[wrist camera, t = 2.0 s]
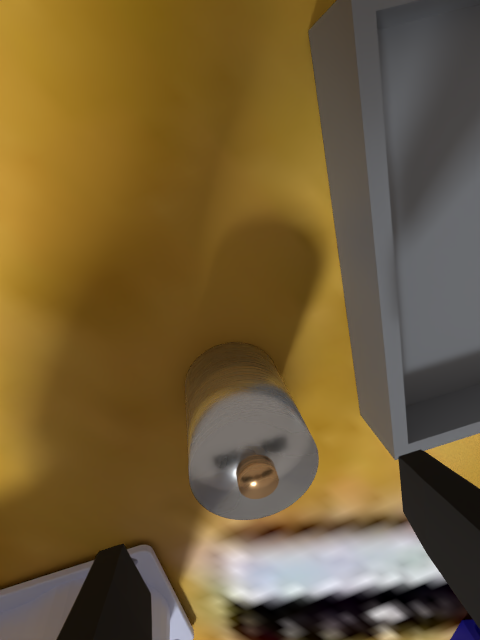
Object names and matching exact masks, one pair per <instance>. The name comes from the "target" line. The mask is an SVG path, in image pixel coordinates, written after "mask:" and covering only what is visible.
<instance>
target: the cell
mask: <svg viewBox="0 0 480 640" xmlns="http://www.w3.org/2000/svg"><path fill="white" fill-rule="evenodd" d="M185 398H186V421H187V443H188V466H189V481H190V487H191V490H192V492H193V494H194V496H195V498H196V499H197V500H198V502H199V503H200V504H201V505H202V506H203V507H204V508H206V509H207V510H209V511H210V512H212V513H214V514H216V515H219V516H221V517H225V518H229V519H236V520H250V519H258V518H263V517H266V516H270V515H272V514H275V513H277V512H279V511H281V510H284V509H285V508H287V507H288V506H290V505H291V504H293V503H294V502H295V501H297V500H298V499H299V498H300V497H301V496H302V495H303V494H304V493H305V492H306V491H307V489H308V488H309V486H310V485H311V483H312V481H313V479H314V478H315V475H316V472H317V468H318V458H319V457H318V450H317V447H316V444H315V442H314V440H313V438H312V436H311V434H310V432H309V430H308V428H307V426H306V424H305V423H304V421H303V419H302V417H301V415H300V413H299V411H298V409H297V407H296V405H295V403H294V401H293V399H292V398H291V396H290V394H289V392H288V390H287V388H286V386H285V384H284V382H283V380H282V378H281V376H280V374H279V372H278V371H277V369H276V367H275V365H274V363H273V361H272V360H271V358H270V357H269V356H268V355H267V354H266V353H265V352H264V351H262V350H261V349H259V348H257V347H255V346H253V345H250V344H246V343H240V342H231V343H225V344H220V345H217V346H215V347H213V348H211V349H209V350H207V351H205V352H204V353H203V354H201V355H200V356H199V357H198V358H197V359H196V360H195V361H194V363H193V364H192V366H191V367H190V369H189V371H188V374H187V377H186V381H185Z"/></svg>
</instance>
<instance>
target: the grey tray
mask: <svg viewBox="0 0 480 640" xmlns="http://www.w3.org/2000/svg"><path fill="white" fill-rule="evenodd" d="M308 32H309V39H310V47H311V54H312V61H313V69H314V76H315V83H316V91H317V98H318V105H319V113H320V120H321V128H322V135H323V142H324V150H325V157H326V164H327V172H328V179H329V186H330V194H331V201H332V209H333V216H334V223H335V231H336V238H337V245H338V253H339V260H340V267H341V275H342V282H343V289H344V297H345V304H346V312H347V319H348V326H349V334H350V341H351V348H352V356H353V363H354V370H355V378H356V385H357V393H358V400H359V407H360V415H361V416H362V418H363V419H364V420H365V421H366V423H367V424H368V425H369V427H370V428H371V429H372V431H373V432H374V433H375V435H376V436H377V437H378V438H379V440H380V441H381V442H382V444H383V445H384V446H385V448H386V449H387V450H388V451H389V453H390V454H391V455H392V457H393V458H394V459H395V460H397V459H399V457H398V456H401V455H405V454H408V453H411V452H414V451H417V450H420V449H421V450H423V451H425V450H428V449H431V448H434V447H437V446H440V445H444V444H447V443H450V442H453V441H456V440H459V439H462V438H465V437H469V436H472V435H475V434H478V433H480V0H336V2H335V3H334V4H333V5H332V6H331V7H330V8H329V9H328V10H327V11H326V12H325V13H324V14H323V16H322V17H321V18H320V19H319V20H318V21H317V22H316V23H315V24H314V25H313V26H312V27H311V29H310V30H309V31H308Z"/></svg>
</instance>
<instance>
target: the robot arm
mask: <svg viewBox="0 0 480 640" xmlns="http://www.w3.org/2000/svg"><path fill="white" fill-rule="evenodd" d="M398 457H399V469H400V480H401V491H402V503H403V512H404V514H405V516H406V517H407V519H408V521H409V523H410V525H411V526H412V528H413V530H414V532H415V534H416V535H417V537H418V539H419V541H420V542H421V544H422V546H423V548H424V549H425V551H426V553H427V554H428V556H429V557H430V559H431V560H432V562H433V563H434V564H435V566H436V567H437V569H438V570H439V572H440V573H441V574H442V576H443V577H444V579H445V580H446V582H447V583H448V585H449V586H450V587H451V589H452V590H453V592H454V593H455V595H456V596H457V597H458V599H459V600H460V602H461V603H462V605H463V606H464V607H465V609H466V610H467V612H468V613H469V614H470V616H471V617H472V619H473V620H474V622H475V623H476V624H477V626H478V627H479V629H480V489H479V488H478V487H476V486H475V485H473V484H472V483H470V482H469V481H467V480H466V479H464V478H463V477H461V476H460V475H458V474H457V473H455V472H454V471H452V470H451V469H449V468H448V467H446V466H445V465H444V464H442V463H441V462H439V461H438V460H436V459H435V458H433V457H432V456H430V455H429V454H428V453H426V452H425V451H423V450H421V449H420V450H417V451H414V452H411V453H408V454H405V455H401V456H398ZM193 638H194V630H193V628H192V626H191V624H190V622H189V620H188V618H187V616H186V614H185V612H184V610H183V608H182V606H181V604H180V602H179V600H178V598H177V596H176V594H175V592H174V590H173V588H172V586H171V584H170V582H169V580H168V578H167V576H166V574H165V572H164V570H163V568H162V566H161V564H160V562H159V560H158V558H157V556H156V554H155V552H154V550H153V549H152V547H151V546H148V545H139V546H136V547H133V548H129V549H126V547H125V545H124V544H121V545H118V546H114V547H111V548H108V549H105V550H102V551H99V553H98V554H97V556H96V558H95V560H92V561H89V562H86V563H83V564H80V565H76V566H73V567H70V568H67V569H64V570H61V571H58V572H55V573H52V574H48V575H45V576H42V577H39V578H36V579H33V580H30V581H27V582H24V583H20V584H17V585H14V586H11V587H8V588H5V589H2V590H0V640H193Z"/></svg>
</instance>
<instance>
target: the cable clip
mask: <svg viewBox="0 0 480 640" xmlns="http://www.w3.org/2000/svg"><path fill="white" fill-rule="evenodd" d="M450 640H480V629H479V627H478V626H477V624H476V623H475V622H474V620H462V621H461V623H460V625H459V626H458V628H457V629H456V631H455V633H454V634H453V636H452V638H451V639H450Z"/></svg>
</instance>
